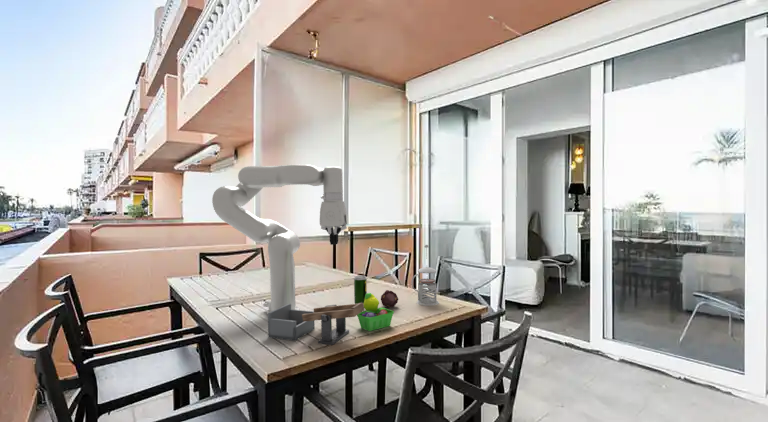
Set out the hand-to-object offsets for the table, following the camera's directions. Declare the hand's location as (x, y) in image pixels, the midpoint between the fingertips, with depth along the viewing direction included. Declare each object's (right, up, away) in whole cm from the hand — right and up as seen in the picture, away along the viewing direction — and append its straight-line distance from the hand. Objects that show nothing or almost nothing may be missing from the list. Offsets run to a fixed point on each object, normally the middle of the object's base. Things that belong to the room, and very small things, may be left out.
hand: (334, 244), depth 146 cm
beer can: (+10, -27, +12) cm, 31 cm away
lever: (+5, -20, -25) cm, 32 cm away
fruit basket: (+16, -27, -18) cm, 37 cm away
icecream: (+22, -27, +7) cm, 36 cm away
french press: (+38, -27, +13) cm, 48 cm away
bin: (-11, -28, -23) cm, 38 cm away
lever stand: (+4, -27, -28) cm, 39 cm away
